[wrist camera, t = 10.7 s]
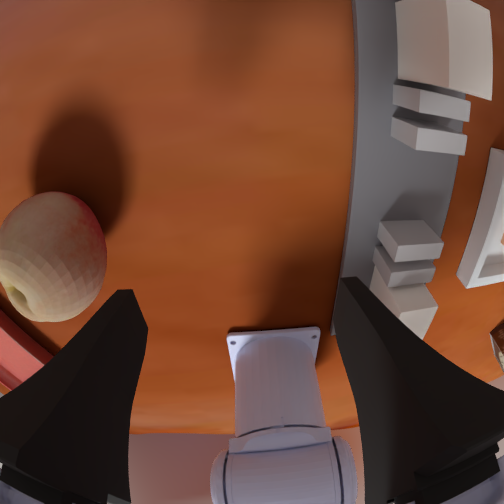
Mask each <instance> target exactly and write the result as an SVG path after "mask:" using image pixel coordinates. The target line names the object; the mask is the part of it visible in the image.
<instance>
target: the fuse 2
mask: <svg viewBox="0 0 504 504" xmlns="http://www.w3.org/2000/svg"><path fill="white" fill-rule="evenodd" d="M395 8H396V22H397V43H398V79H402V80H407V81H413V82H418V83H422V84H427V85H432V86H436V87H440V88H445V89H450V90H454V91H458V92H462V93H466V94H470V95H473V96H477V97H481V98H484V99H487V100H492V78H493V53H492V32H491V20H490V11H489V10H488V9H486V8H484V7H482V6H480V5H478V4H476V3H474V2H472V1H470V0H401V1H398V2H395Z"/></svg>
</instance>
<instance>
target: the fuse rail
mask: <svg viewBox="0 0 504 504" xmlns="http://www.w3.org/2000/svg"><path fill="white" fill-rule="evenodd" d="M398 1H401V0H352V11H353V28H354V53H355V110H354V137H353V155H352V169H351V182H350V193H349V204H348V213H347V222H346V231H345V239H344V246H343V254H342V261H341V267H340V274H339V280H338V287H339V281H340V278H343V277H354V276H357V277H358V278H359V279H360V280H361V281H362V282H363V283H364V284H365V285H366V286H367V287H368V288H370V284H371V280H372V276H373V272H374V267H375V266H376V268H377V269H378V271H379V273H380V275H381V276H382V278H383V280H384V282H385V284H386V286H387V287H395V286H403V285H411V284H419V283H424V284H426V282H431V281H432V278H433V275H434V272H435V269H436V267H435V266H434V265H433V261H434V259H437V258H439V257H440V254H441V251H442V248H443V245H444V242H443V241H442V240H441V239H440V238H441V234H442V231H443V227H444V223H445V220H446V216H447V212H448V208H449V204H450V199H451V195H452V190H453V185H454V180H455V175H456V170H457V164H458V158H459V155H465V149H466V142H467V135H465V134H463V133H462V130H463V121H466V122H469V116H470V105H471V102H470V101H466V100H465V95H466V93H462V92H458V91H454V90H450V89H445V88H440V87H436V86H432V85H427V84H422V83H418V82H413V81H407V80H402V79H398V43H397V22H396V8H395V2H398ZM338 287H337V293H338ZM337 293H336V298H337ZM336 298H335V304H336ZM335 304H334V309H335ZM333 315H334V310H333ZM333 315H332V321H331V326H330V334H331V335H336V334H335V329H334V323H333Z"/></svg>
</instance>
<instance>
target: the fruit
mask: <svg viewBox="0 0 504 504" xmlns="http://www.w3.org/2000/svg"><path fill="white" fill-rule="evenodd" d="M106 265H107V248H106V243H105V238H104V234H103V232H102V229H101V226H100V224H99V222H98V220H97V218H96V216H95V215H94V213H93V212H92V210H91V209H90V208H89V207H88V206H87V205H86V204H85V203H84V202H83V201H82V200H80V199H79V198H77V197H76V196H74V195H70V194H67V193H64V192H55V191H51V192H45V193H40V194H37V195H35V196H32V197H30V198H28V199H26V200H24V201H22V202H21V203H20V204H19V205H18V206H17V207H15V208H14V209H13V210H12V211H11V212H10V213H9V214H8V216H7V217H6V218H5V220H4V222H3V224H2V226H1V229H0V281H1V283H2V285H3V287H4V288H5V290H6V293H7V295H8V298H9V300H10V301H11V303H12V305H13V306H14V307H15V308H16V310H17V311H18V312H19V313H21V314H22V315H23V316H24V317H26V318H28V319H30V320H33V321H39V322H45V321H50V322H59V321H64V320H68V319H71V318H73V317H75V316H77V315H78V314H79V313H81V312H82V311H83V310H84V309H86V308H87V307H88V306H89V305H90V304H91V303H92V302H93V301H94V299H95V298H96V296H97V295H98V293H99V291H100V289H101V287H102V284H103V280H104V276H105V272H106Z"/></svg>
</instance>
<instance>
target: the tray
mask: <svg viewBox="0 0 504 504" xmlns="http://www.w3.org/2000/svg"><path fill="white" fill-rule="evenodd" d="M503 233H504V150H501V149H496V148H492V147H491V150H490V156H489V161H488V166H487V172H486V176H485V181H484V185H483V190H482V194H481V198H480V202H479V206H478V209H477V213H476V217H475V220H474V223H473V227H472V230H471V233H470V236H469V239H468V243H467V245H466V248H465V251H464V254H463V257H462V260H461V262H460V265H459V268H458V270H457V273H456V275H457V277H458V278H459V279H460V281H461V282H462V283H463V285H464V286H465V287H466V289H467V288H472V287H478V286H483V285H488V284H493V283H498V282H503V281H504V245H503V244H502V243H501V239H502V236H503Z"/></svg>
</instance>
